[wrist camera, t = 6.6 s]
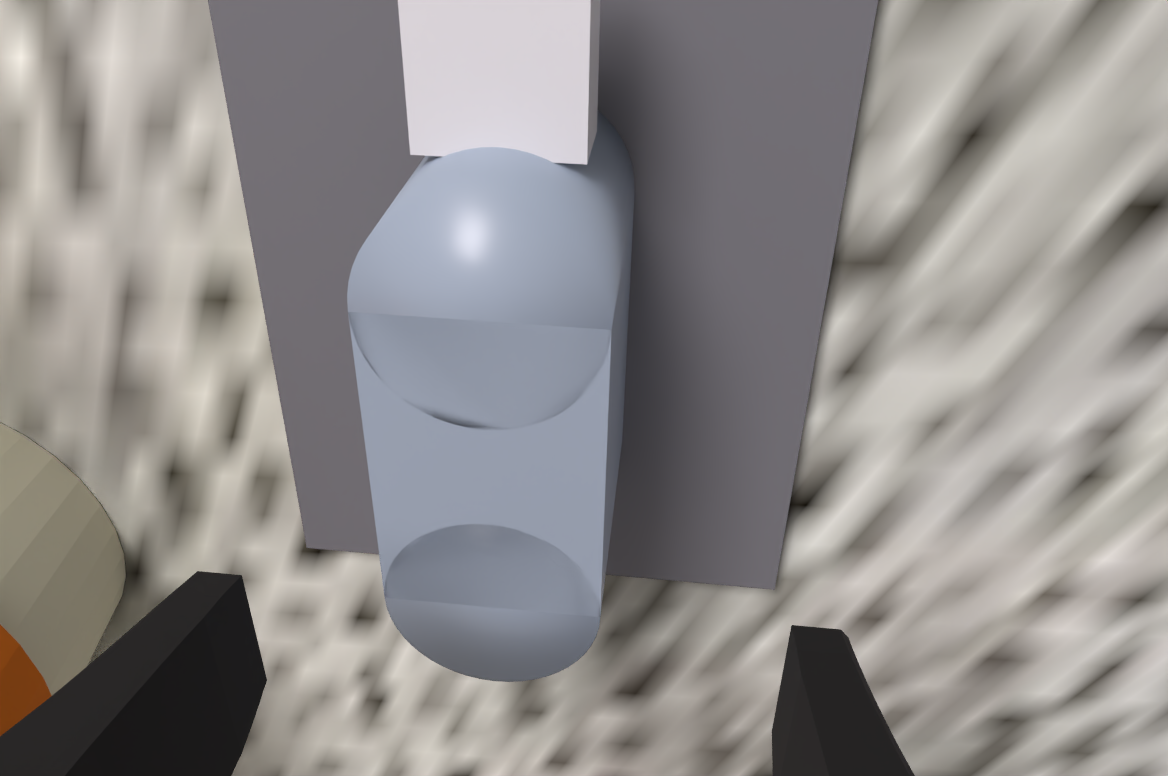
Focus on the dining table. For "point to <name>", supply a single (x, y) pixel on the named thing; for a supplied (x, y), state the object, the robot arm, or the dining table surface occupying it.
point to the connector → (497, 338)
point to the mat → (658, 260)
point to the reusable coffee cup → (49, 575)
